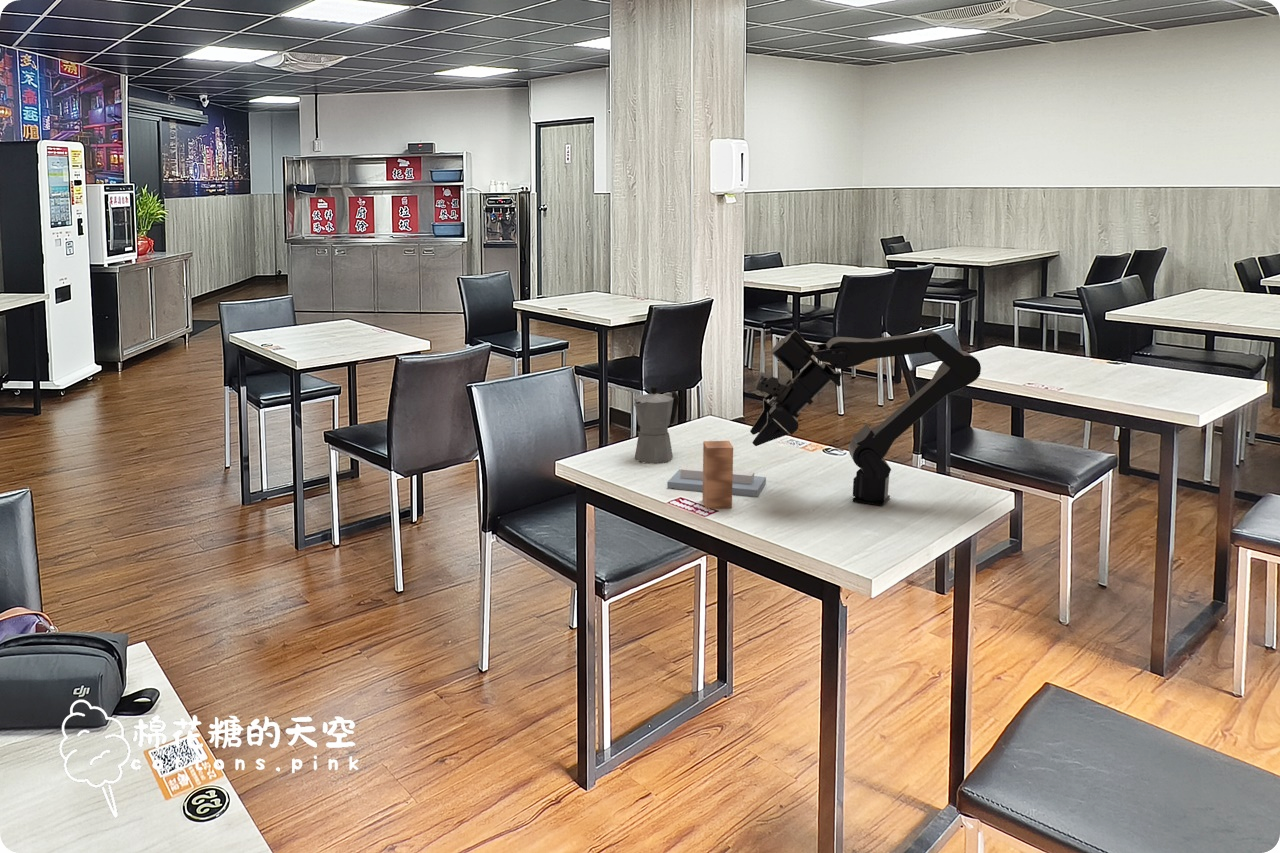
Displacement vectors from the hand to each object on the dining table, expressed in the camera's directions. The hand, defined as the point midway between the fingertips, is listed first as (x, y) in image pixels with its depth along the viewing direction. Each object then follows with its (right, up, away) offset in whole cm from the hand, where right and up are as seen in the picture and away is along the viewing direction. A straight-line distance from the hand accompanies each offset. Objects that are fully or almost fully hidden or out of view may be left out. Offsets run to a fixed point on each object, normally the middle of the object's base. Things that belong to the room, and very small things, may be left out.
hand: (752, 438), depth 212 cm
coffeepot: (-20, -5, +34) cm, 39 cm away
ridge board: (-7, -11, +12) cm, 17 cm away
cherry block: (-8, -14, -1) cm, 16 cm away
